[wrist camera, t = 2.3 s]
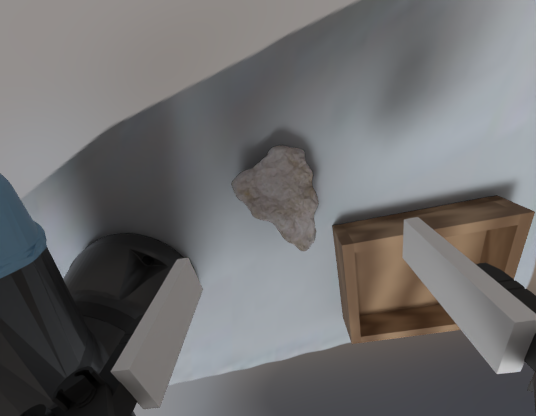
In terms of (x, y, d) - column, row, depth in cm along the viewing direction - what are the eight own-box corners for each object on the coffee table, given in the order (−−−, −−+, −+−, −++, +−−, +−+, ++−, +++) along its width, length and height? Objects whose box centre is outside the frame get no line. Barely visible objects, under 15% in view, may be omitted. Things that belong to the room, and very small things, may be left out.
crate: (343, 317, 34) (351, 343, 30) (332, 225, 27) (341, 245, 23) (473, 299, 32) (499, 324, 28) (496, 195, 25) (535, 211, 22)
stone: (337, 203, 26) (354, 231, 21) (279, 238, 28) (280, 271, 23) (290, 129, 22) (296, 139, 17) (227, 175, 25) (215, 196, 19)
